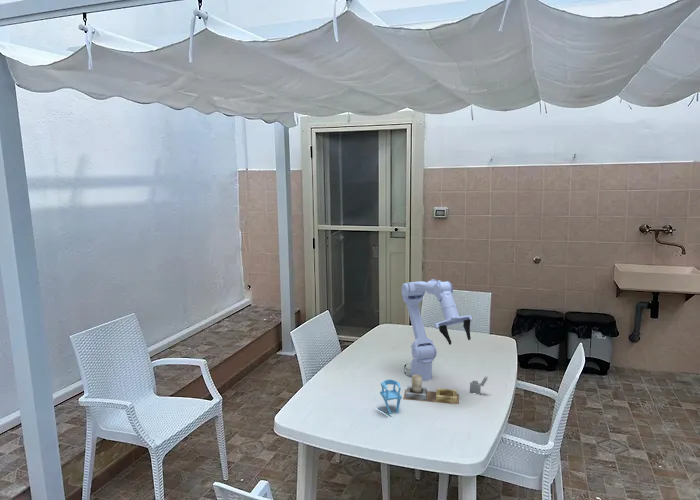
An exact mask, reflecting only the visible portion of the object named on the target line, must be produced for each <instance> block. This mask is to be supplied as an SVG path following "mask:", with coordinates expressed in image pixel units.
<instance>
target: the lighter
mask: <svg viewBox="0 0 700 500" xmlns="http://www.w3.org/2000/svg"><path fill="white" fill-rule="evenodd" d="M488 379H489V377H488V376H486V375H485V376H484V378H483V379H482V381H481V382H480V383H479V381H478V380H472V381H470V382H469V394H473V393H476V394H475V395H478V394H480V395H481V390H482V389H481V387H484V385H485V384H486V383H487V381H488Z"/></svg>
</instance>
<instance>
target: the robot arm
mask: <svg viewBox="0 0 700 500" xmlns="http://www.w3.org/2000/svg"><path fill="white" fill-rule="evenodd" d="M453 291H454V288H453V284H452V283H451V282H450V281H448V280H447V281H442V280H440V279H437V280H436V279H433V278H432V279H430V280H428V281H427V282H426V281H424V280H421V281H420V280H419V281H411V282H410V281H409V282H404V283H402V285H401V291H400V292H401V296H402V299H403V303H405V304H406V308H407V311H408V315H409V319H410V324H411V326H412V331H413V335H414V339H415V340H414V341H413V342H412V344H411V345H410V347H411V357H412V360H411V362H410V376H411V377H412V375H421V376H422V382H424V381H426V382H427V381H430V380H432V378H433V362H434V360H435V358H436V357H437V347H436V346H435V344H434V342H433V340H432V339H430V338H429V337H427V333H426V329H425V326H424V322H423V318H422V315H421V310H420V307H419V303H420V302H422V300H423V299H424V296H425V295H426V293H428V294H431V295H434V296H435V297H436V300H437V301H439V304H440V307H441V311H442V314H443V317H444V320H442V321H439V322H435V323H434V326H435V330H437V329H438V330H439V332H440V333H441V334H442V336H443V337H444V338H445V339H446V342H448V345H450V346H451V345H452V340H451V337H450V334H449V331H448V327H449V326H452V325H456V324H461V323H462V324H463V325H462V327H463V328H464V330H465V333H466V338H467V340H468V341H471V339H472V338H471V322H472V321H473V318H472V315H471V314H467V315H461V316H460V313H459V311H458V308H457V305H456V302H455V299H454V296H453Z"/></svg>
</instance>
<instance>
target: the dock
mask: <svg viewBox="0 0 700 500" xmlns="http://www.w3.org/2000/svg"><path fill="white" fill-rule="evenodd" d="M402 400H406V401H407V400H408V401H417V402H429V403H441V404H451V405H452V404H453V405H460V394H459V393H458V392H457V389H448V388H436V391H432V390H431V391H430V390H428V387H425V386H422V393H421V394H420V393H412V385H407V388H406V389H404V394H403V397H402Z"/></svg>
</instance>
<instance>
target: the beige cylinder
mask: <svg viewBox="0 0 700 500" xmlns="http://www.w3.org/2000/svg"><path fill="white" fill-rule="evenodd" d="M422 382H423V380H422V376H421V375H412V376H411V386H412V393H420V394H421V393H422V387H423V383H422Z"/></svg>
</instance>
